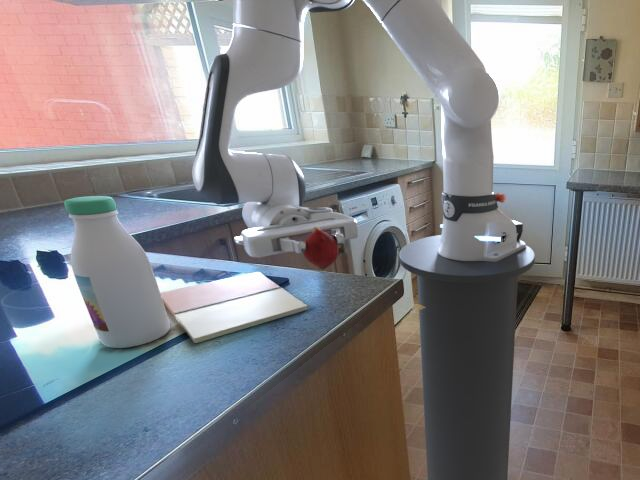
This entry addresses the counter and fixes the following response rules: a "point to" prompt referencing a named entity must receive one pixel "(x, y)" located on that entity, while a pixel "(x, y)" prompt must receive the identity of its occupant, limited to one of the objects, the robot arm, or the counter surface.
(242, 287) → the sorting board
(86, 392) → the counter surface
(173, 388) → the counter surface
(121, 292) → the milk bottle
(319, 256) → the onion
